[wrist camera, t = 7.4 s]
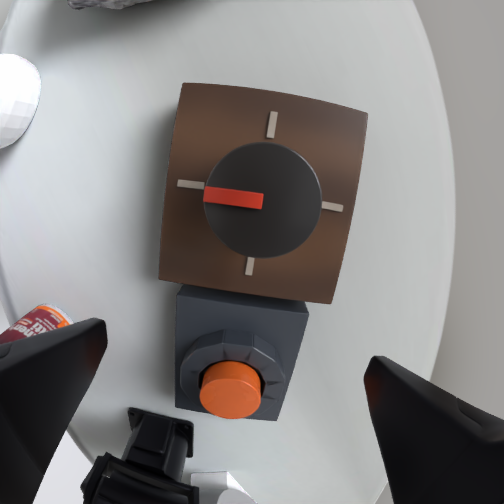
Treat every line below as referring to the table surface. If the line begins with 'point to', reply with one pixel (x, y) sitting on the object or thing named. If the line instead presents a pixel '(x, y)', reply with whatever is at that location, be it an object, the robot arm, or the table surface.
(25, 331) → the pill bottle
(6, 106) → the bottle
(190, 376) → the button box
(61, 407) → the robot arm
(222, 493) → the alarm clock
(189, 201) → the panel
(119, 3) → the rock
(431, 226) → the table surface
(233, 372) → the button
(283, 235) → the knob
